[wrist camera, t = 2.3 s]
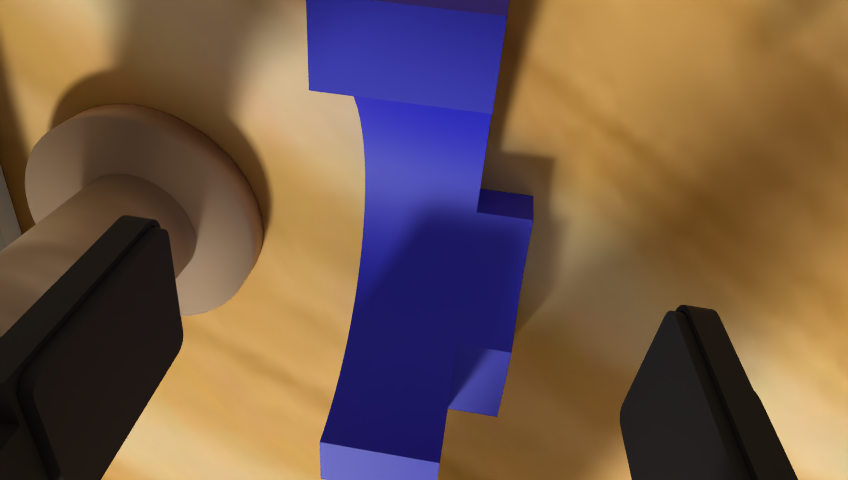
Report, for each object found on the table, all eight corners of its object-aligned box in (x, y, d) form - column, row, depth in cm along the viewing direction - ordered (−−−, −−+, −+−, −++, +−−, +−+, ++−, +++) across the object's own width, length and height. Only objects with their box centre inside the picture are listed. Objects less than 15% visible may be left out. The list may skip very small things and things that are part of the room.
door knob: (259, 127, 17) (43, 353, 9) (265, 314, 21) (117, 578, 13) (22, 84, 17) (-372, 268, 10) (72, 276, 21) (-178, 513, 13)
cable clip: (500, 347, 20) (492, 509, 15) (370, 326, 20) (321, 478, 16) (581, -38, 13) (611, 27, 8) (385, -59, 14) (306, -8, 9)
